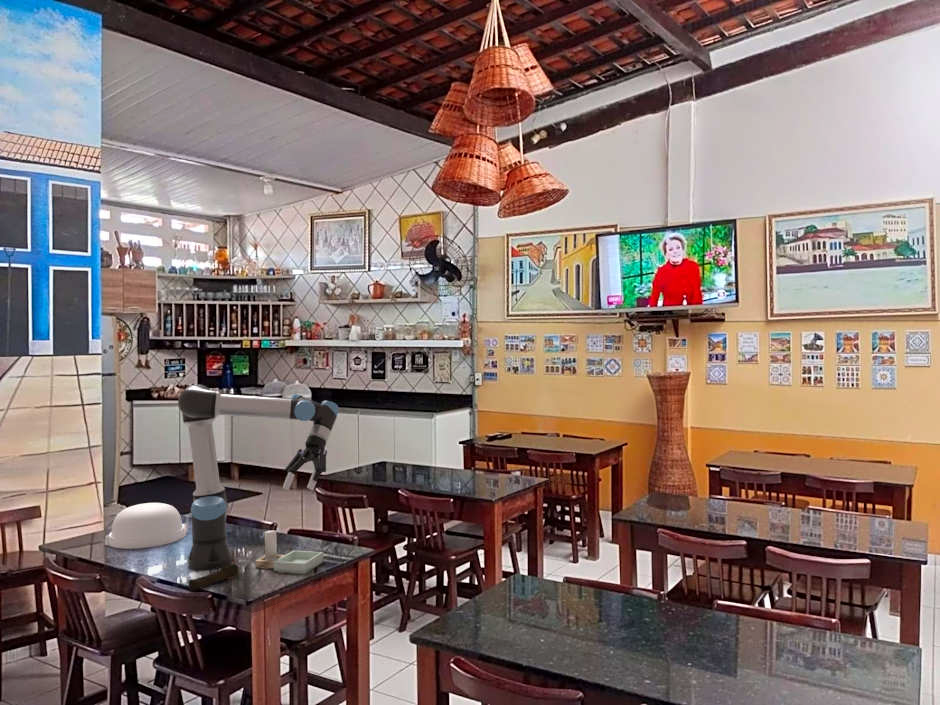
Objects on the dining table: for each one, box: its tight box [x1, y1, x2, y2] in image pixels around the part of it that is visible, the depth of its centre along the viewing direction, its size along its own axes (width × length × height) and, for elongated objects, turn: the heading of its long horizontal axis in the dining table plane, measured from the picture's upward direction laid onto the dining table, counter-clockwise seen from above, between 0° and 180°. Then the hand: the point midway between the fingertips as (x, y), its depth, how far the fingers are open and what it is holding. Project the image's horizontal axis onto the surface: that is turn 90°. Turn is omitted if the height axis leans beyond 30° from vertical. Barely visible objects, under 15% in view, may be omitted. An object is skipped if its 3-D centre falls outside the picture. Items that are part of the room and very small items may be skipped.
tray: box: [273, 550, 324, 575], centre depth 265 cm, size 12×14×4 cm
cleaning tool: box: [264, 529, 278, 561], centre depth 268 cm, size 4×4×12 cm
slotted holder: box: [254, 554, 286, 569], centre depth 268 cm, size 8×8×2 cm
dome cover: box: [104, 502, 189, 550], centre depth 309 cm, size 32×30×14 cm
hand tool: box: [188, 563, 239, 592], centre depth 249 cm, size 19×4×5 cm, turn 146°
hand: (297, 489), depth 279 cm, fingers open, 13 cm apart
